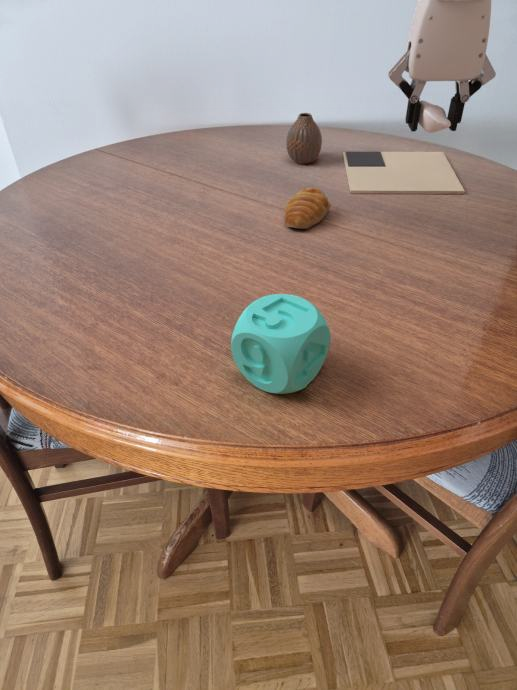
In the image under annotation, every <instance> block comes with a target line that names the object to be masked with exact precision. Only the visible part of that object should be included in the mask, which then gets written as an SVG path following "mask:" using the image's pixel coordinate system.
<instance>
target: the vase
mask: <svg viewBox="0 0 517 690" xmlns="http://www.w3.org/2000/svg"><path fill="white" fill-rule="evenodd" d="M322 144H323V137H322V132H321V129H320V128H319V126H318V124H317V123H316V122H315V120H314V118H313V115H312V114H311V113H309V112H301V113H299V114H298V116H297V118H296V120H295V121H294V122H293V124H292V125H291V126H290V128H289V130H288V131H287V135H286V145H285V146H286V151H287V154H288V156H289V158H290V159H291V160H292V161H293V162H294V163H296V164H298V165H299V164H301V165H309V164H311V163H313V162H314V161H315V160H316V159H317V158H318V157H319V155H320V154H321V150H322Z"/></svg>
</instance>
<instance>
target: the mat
mask: <svg viewBox="0 0 517 690" xmlns="http://www.w3.org/2000/svg"><path fill="white" fill-rule="evenodd" d="M447 158H448V157H446V155H445V153H444V151H342V159H343V163H344V164H343V165H344V168H345V169H344V170H345V173H346V178H347V184H348V189H349V193H350V194H353V195H354V194H355V195H357V194H358V195H359V194H361V195H362V194H363V195H364V194H367V195H368V194H370V195H371V194H373V195H375V194H376V195H377V194H380V195H381V194H382V195H383V194H384V195H386V194H387V195H392V194H393V195H397V194H398V195H465V193H466V190H465V189H464V187H463V185H462V183H461V181H460V180H459V178H458V176H457V174H456V172H455V171H454V169H453V168H452V166H451V164H450V162H449V160H448V159H447Z"/></svg>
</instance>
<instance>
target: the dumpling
mask: <svg viewBox="0 0 517 690" xmlns="http://www.w3.org/2000/svg"><path fill="white" fill-rule="evenodd" d="M419 102H420V103H421V109H420V115H419V121H418V125H419V126H420V127H421V128H422V129H423V130H424V131H425V132H426V133H428V134H432V133H438V132H439V131H440V132H441V131H443V130H446V129H449V127H450V126H451V123H450V121H449V120H448V118H447V117H448V116H447V113H446V110H445V109H444V108H443V107H442V106H440V105H437V104H432V103H431V102H428V101H426V100H419Z"/></svg>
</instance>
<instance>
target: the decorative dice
mask: <svg viewBox="0 0 517 690" xmlns="http://www.w3.org/2000/svg"><path fill="white" fill-rule="evenodd" d="M330 343H331V331H330V328H329V325H328V322H327V320H326V318H325V316H324V315H323V314H322V312H321V311H320V310H319V309H318V308H317V307H316V306H315V305H314V304H313V303H312V302H310V301H309V300H307V299H306V298H303V297H301V296H298V295H294V294H288V293H274V294H268V295H265V296H262V297H259V298H257V299H256V300H254V301H252V302H251V303H249V304H248V306H246V308H245V309H244V310H243V311H242V313H241V314H240V316H239V318H238V319H237V321H236V323H235V325H234V328H233V331H232V335H231V341H230V350H231V355H232V359H233V361H234V363H235V365H236V368H237V369H238V371H239V372H240V373H241V375H242V376H243V377H244V378H245V380H247V381H248V382H249V383H250V384H251V385H253V386H254V387H256V388H257V389H258V390H260V391H264V392H267V393H271V394H277V395H279V394H280V395H286V394H292V393H296V392H299V391H302V390H303V389H305V388H307V387H308V386H309V385H310V384H311V383H312V382H313V380H314V379H315V378H316V376H317V375H318V374H319V372H320V371H321V369H322V367H323V365H324V363H325V360H326V359H327V356H328V353H329V350H330V345H331V344H330ZM311 381H312V382H311ZM310 382H311V383H310ZM309 383H310V384H309ZM308 384H309V385H308ZM307 385H308V386H307Z"/></svg>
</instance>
